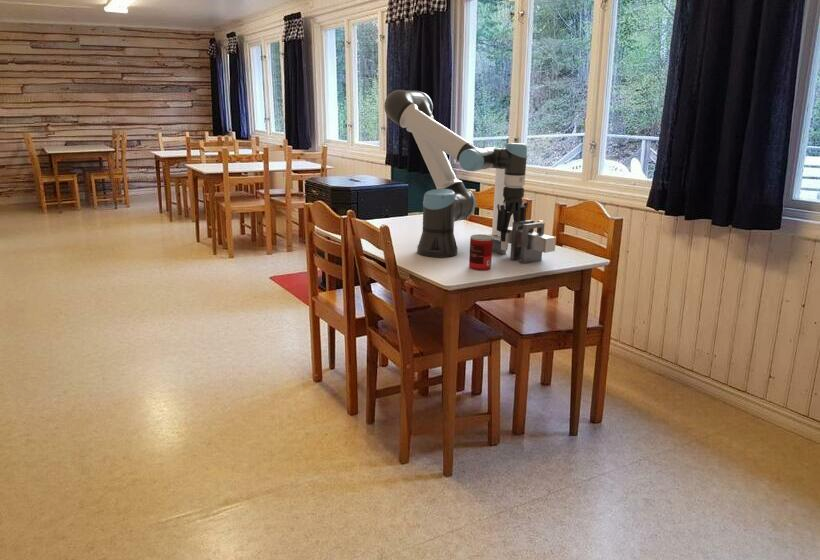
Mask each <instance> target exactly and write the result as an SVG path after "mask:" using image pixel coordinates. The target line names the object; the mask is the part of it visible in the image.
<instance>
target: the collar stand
mask: <svg viewBox="0 0 820 560" xmlns="http://www.w3.org/2000/svg"><path fill="white" fill-rule="evenodd" d="M519 226H523V231H522V244H521V246H517V238H518V227H519ZM545 226H546V225H545V220H537V222H535V220H534V219H527V220H526V221H518V222H513V227H512V241H511V244H510V258H509V260H510V261H512V262H515V261H519V263H520V264H521V265H523V264H530V263H536V262H541V261H543V259H542V258H543V257H542V256H543V252H540V251H536V250H533V249H529V248H527V243H528V231H532V232H535V231H534V229H536V233H540V234H545Z"/></svg>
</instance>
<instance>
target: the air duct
mask: <svg viewBox="0 0 820 560" xmlns="http://www.w3.org/2000/svg"><path fill="white" fill-rule="evenodd" d="M522 231H523V229H519V228H518V238H517V245H518V246H521V244H522ZM507 233H509V234H508V244H510V245H511V241H512V227H508V230H507ZM556 241H557V237H556V236H553V235H547V234H545V233H544V234H540V233H537V231H536V232H535V231H533V232H532V231H528V243H527V248H529V249H533V250H536V251H540V252H542V253H544V254H546V253H552V252H555V251H556Z"/></svg>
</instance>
